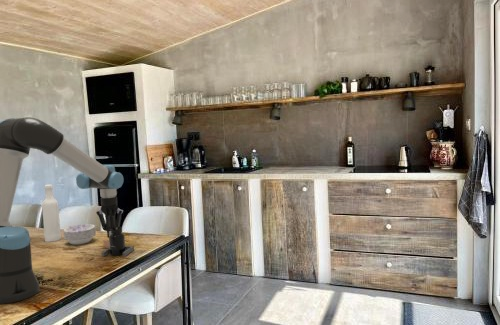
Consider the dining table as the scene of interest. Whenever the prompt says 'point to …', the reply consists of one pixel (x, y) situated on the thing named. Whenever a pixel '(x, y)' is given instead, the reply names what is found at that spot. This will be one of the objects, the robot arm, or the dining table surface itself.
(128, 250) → the holder
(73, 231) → the paper bowls
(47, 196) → the bottle
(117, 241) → the supplement bottle
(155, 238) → the dining table surface
